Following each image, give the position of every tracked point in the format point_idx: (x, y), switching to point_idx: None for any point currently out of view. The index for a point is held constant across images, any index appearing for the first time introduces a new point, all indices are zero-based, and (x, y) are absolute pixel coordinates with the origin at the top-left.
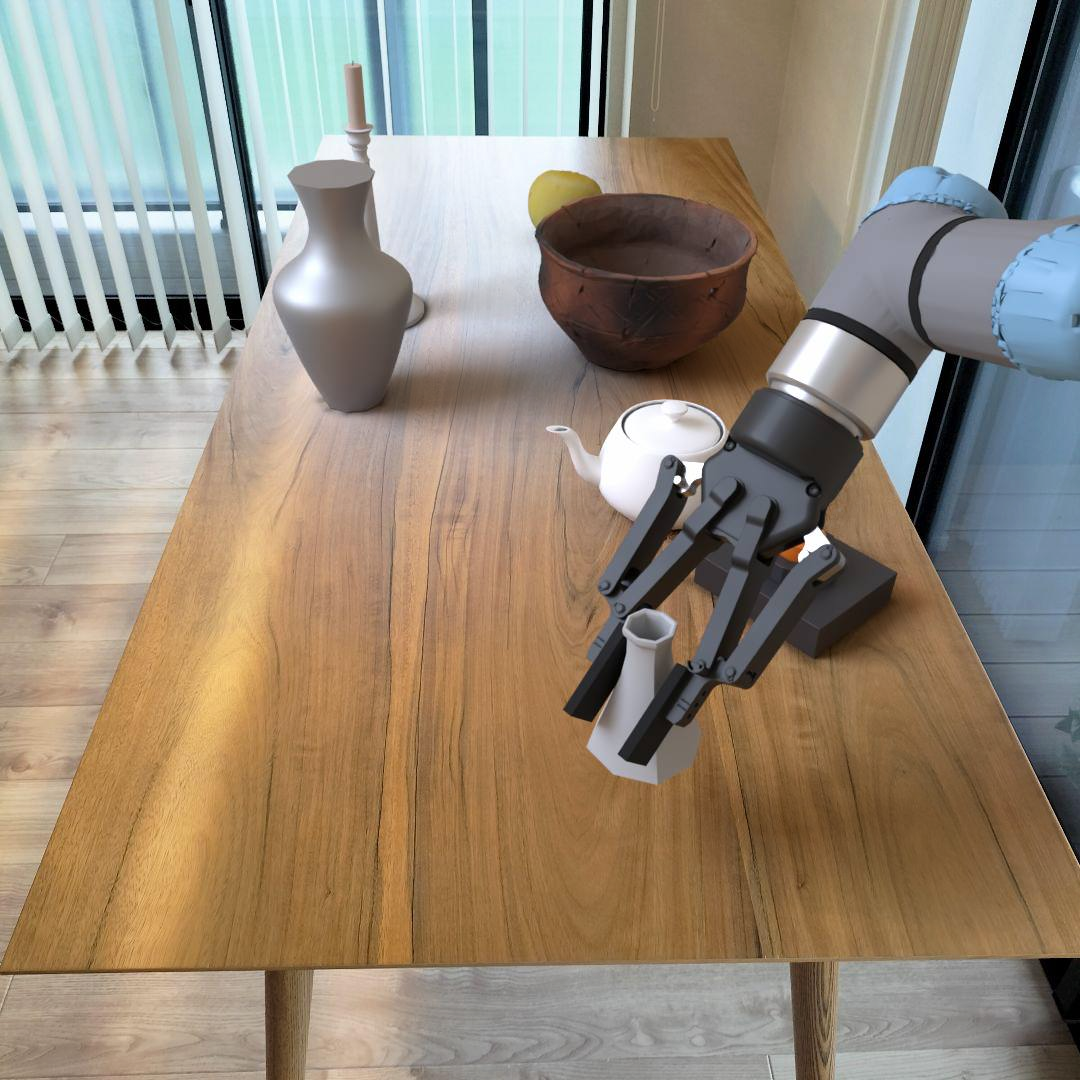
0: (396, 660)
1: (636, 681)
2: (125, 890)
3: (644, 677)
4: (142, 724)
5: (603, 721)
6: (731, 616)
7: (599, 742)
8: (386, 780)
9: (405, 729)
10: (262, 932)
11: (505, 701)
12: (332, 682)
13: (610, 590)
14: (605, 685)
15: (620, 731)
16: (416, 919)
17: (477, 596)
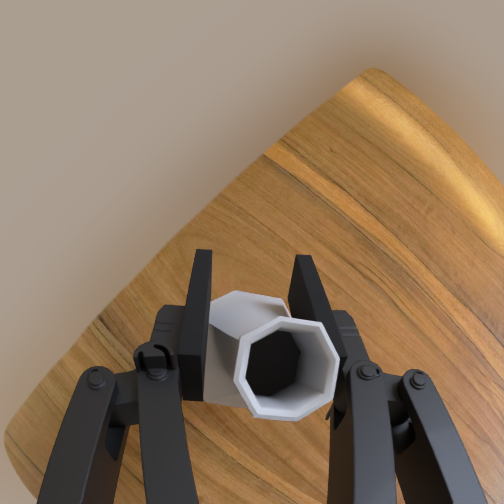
0: (459, 305)
1: (256, 323)
2: (387, 99)
3: (248, 330)
4: (472, 165)
5: (277, 306)
6: (144, 474)
7: (269, 299)
8: (384, 228)
9: (412, 268)
10: (330, 117)
11: (392, 346)
12: (463, 258)
13: (405, 382)
14: (299, 314)
15: (248, 303)
16: (282, 170)
17: (469, 392)
